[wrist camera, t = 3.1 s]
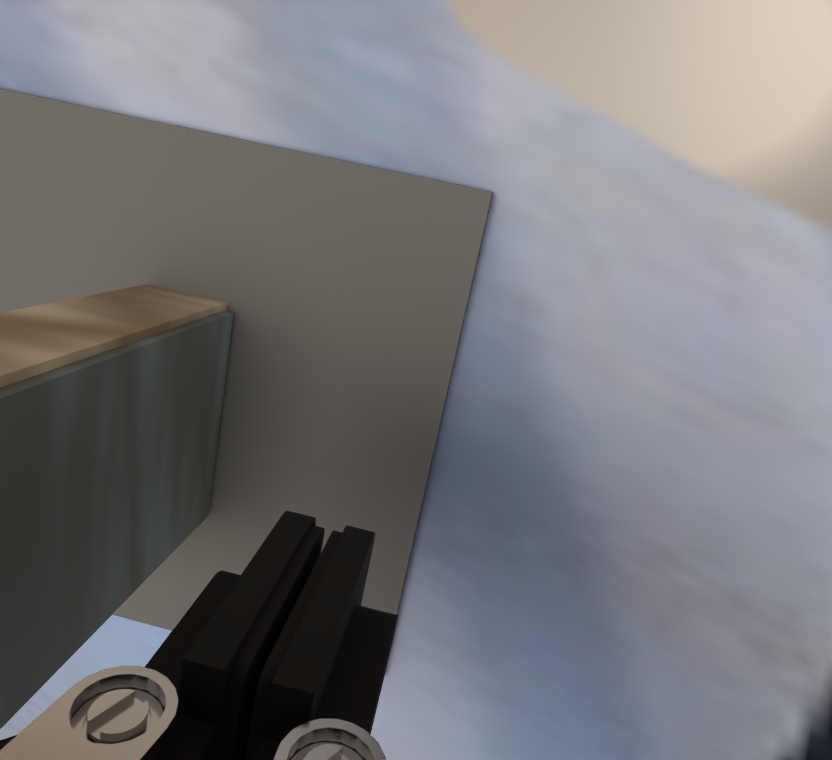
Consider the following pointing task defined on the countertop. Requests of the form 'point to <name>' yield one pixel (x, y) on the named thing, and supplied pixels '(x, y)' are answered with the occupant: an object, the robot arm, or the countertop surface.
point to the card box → (98, 461)
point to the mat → (260, 314)
